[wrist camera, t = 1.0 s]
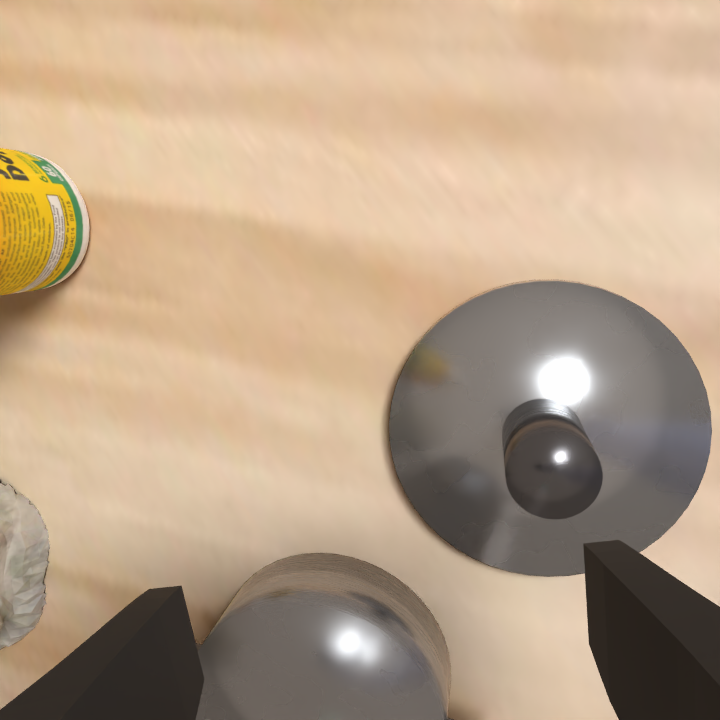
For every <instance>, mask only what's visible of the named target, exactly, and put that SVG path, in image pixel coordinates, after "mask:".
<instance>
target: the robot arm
mask: <svg viewBox="0 0 720 720" xmlns="http://www.w3.org/2000/svg"><path fill="white" fill-rule="evenodd" d="M583 546H584V564H585V581H586V599H587V617H588V634H589V645H590V647H591V650H592V653H593V656H594V659H595V662H596V665H597V667H598V670H599V673H600V676H601V678H602V681H603V684H604V687H605V689H606V692H607V695H608V697H609V700H610V702H611V704H612V706H613V708H614V710H615V713H616V715H617V717H618V719H619V720H720V607H719V606H718V605H716V604H714V603H713V602H711V601H710V600H708V599H707V598H705V597H704V596H702V595H700V594H699V593H697V592H696V591H694V590H693V589H691V588H690V587H688V586H687V585H685V584H684V583H682V582H681V581H679V580H678V579H676V578H675V577H674V576H672V575H671V574H669V573H668V572H666V571H665V570H663V569H662V568H660V567H659V566H657V565H656V564H655V563H653V562H652V561H650V560H649V559H647V558H646V557H644V556H643V555H642V554H640V553H639V552H637V551H636V550H634V549H633V548H631V547H630V546H628V545H627V544H625V543H624V542H622V541H621V540H612V541H602V542H593V543H583ZM204 680H205V679H204V675H203V671H202V667H201V663H200V659H199V655H198V651H197V647H196V643H195V639H194V635H193V631H192V627H191V623H190V619H189V615H188V611H187V607H186V603H185V599H184V595H183V591H182V586H174V587H165V588H155V589H149V590H147V591H146V592H145V593H143V594H142V595H140V596H139V597H138V598H136V599H135V600H134V601H133V602H131V603H130V604H129V605H128V606H127V607H125V608H124V609H123V610H122V611H121V612H119V613H118V614H117V615H116V616H115V617H113V618H112V619H111V620H110V621H109V622H107V623H106V624H105V625H104V626H103V627H102V628H100V629H99V630H98V631H97V632H96V633H95V634H93V635H92V636H91V637H90V638H89V639H87V640H86V641H85V642H84V643H83V644H82V645H80V646H79V647H78V648H77V649H76V650H74V651H73V652H72V653H71V654H70V655H68V656H67V657H66V658H65V659H64V660H62V661H61V662H60V663H59V664H58V665H56V666H55V667H54V668H53V669H52V670H50V671H49V672H48V673H46V674H45V675H44V676H43V677H41V678H40V679H39V680H38V681H36V682H35V683H34V684H32V685H31V686H30V687H29V688H27V689H26V690H25V691H24V692H22V693H21V694H20V695H18V696H17V697H16V698H15V699H13V700H12V701H11V702H10V703H8V704H7V705H6V706H5V707H3V708H2V709H1V710H0V720H196V716H197V712H198V708H199V703H200V698H201V694H202V689H203V684H204Z"/></svg>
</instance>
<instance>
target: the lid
mask: <svg viewBox="0 0 720 720" xmlns="http://www.w3.org/2000/svg"><path fill="white" fill-rule="evenodd" d="M389 434H390V446H391V452H392V458H393V462H394V465H395V469H396V472H397V475H398V478H399V480H400V482H401V484H402V487H403V489H404V491H405V493H406V495H407V496H408V498H409V500H410V501H411V503H412V505H413V506H414V508H415V509H416V511H417V512H418V513H419V514H420V516H421V517H422V518H423V519H424V521H425V522H426V523H427V524H428V525H429V526H430V527H431V528H432V529H433V530H434V531H435V532H436V533H437V534H438V535H439V536H440V537H442V538H443V539H444V540H446V541H447V542H448V543H450V544H451V545H452V546H453V547H455V548H456V549H458V550H460V551H461V552H463V553H465V554H467V555H468V556H470V557H472V558H474V559H476V560H478V561H481V562H483V563H485V564H487V565H490V566H493V567H496V568H499V569H502V570H506V571H509V572H514V573H519V574H525V575H533V576H546V577H550V576H570V575H576V574H583V573H585V564H584V546H583V543H593V542H602V541H612V540H621V541H622V542H624V543H625V544H627V545H628V546H630V547H631V548H633V549H634V550H636V551H637V552H641V551H642V550H644V549H645V548H647V547H648V546H649V545H651V544H652V543H654V542H655V541H656V540H658V539H659V538H660V537H661V536H662V535H663V534H664V533H665V532H666V531H667V530H669V529H670V528H671V527H672V526H673V525H674V524H675V523H676V521H677V520H678V519H679V517H680V516H681V515H682V514H683V512H684V511H685V510H686V509H687V507H688V506H689V504H690V502H691V500H692V499H693V497H694V495H695V494H696V492H697V490H698V488H699V485H700V483H701V480H702V478H703V475H704V473H705V470H706V466H707V462H708V458H709V454H710V445H711V435H712V428H711V411H710V406H709V402H708V397H707V392H706V389H705V386H704V384H703V381H702V378H701V376H700V373H699V371H698V369H697V367H696V365H695V364H694V362H693V360H692V358H691V356H690V355H689V353H688V352H687V350H686V349H685V348H684V346H683V345H682V344H681V342H680V341H679V340H678V339H677V337H676V336H675V335H674V334H673V333H672V332H671V331H670V330H669V329H668V328H667V327H666V326H665V325H664V324H663V323H662V322H661V321H660V320H658V319H657V318H656V317H654V316H653V315H652V314H650V313H649V312H647V311H646V310H645V309H643V308H642V307H640V306H638V305H636V304H635V303H633V302H631V301H629V300H627V299H626V298H624V297H622V296H620V295H618V294H615V293H613V292H610V291H607V290H605V289H602V288H600V287H596V286H592V285H588V284H584V283H580V282H574V281H565V280H530V281H523V282H516V283H511V284H507V285H504V286H500V287H496V288H493V289H490V290H488V291H486V292H483V293H481V294H478V295H476V296H474V297H472V298H470V299H468V300H467V301H465V302H463V303H461V304H460V305H458V306H456V307H455V308H454V309H452V310H451V311H450V312H448V313H447V314H446V315H444V316H443V317H442V318H441V319H440V320H438V321H437V322H436V323H435V324H434V325H433V326H432V327H431V328H430V329H429V330H428V331H427V332H426V334H425V335H424V336H423V338H422V339H421V340H420V342H419V343H418V344H417V345H416V347H415V348H414V350H413V352H412V353H411V355H410V357H409V359H408V360H407V362H406V364H405V366H404V367H403V370H402V372H401V375H400V377H399V379H398V382H397V384H396V388H395V391H394V395H393V399H392V403H391V411H390V420H389Z"/></svg>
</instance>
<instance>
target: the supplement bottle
mask: <svg viewBox="0 0 720 720" xmlns="http://www.w3.org/2000/svg"><path fill="white" fill-rule="evenodd" d="M89 231H90V226H89V217H88V212H87V208H86V205H85V202H84V200H83V197H82V195H81V193H80V191H79V190H78V188H77V187H76V185H75V184H74V182H73V181H72V179H71V178H70V177H69V176H68V175H67V174H66V173H65V171H64V170H63V169H62V168H61V167H59V166H58V165H57V164H55V163H54V162H52V161H50V160H48V159H46V158H44V157H42V156H39V155H35V154H31V153H27V152H22V151H16V150H9V149H3V148H0V295H6V294H13V293H20V292H27V291H35V290H39V289H45V288H49V287H51V286H54V285H56V284H58V283H60V282H61V281H63V280H65V279H66V278H67V277H69V276H70V275H71V274H72V273H73V272H74V271H75V270H76V269H77V268H78V266H79V265H80V263H81V262H82V260H83V257H84V255H85V253H86V250H87V247H88V242H89Z"/></svg>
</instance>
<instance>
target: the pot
mask: <svg viewBox="0 0 720 720" xmlns="http://www.w3.org/2000/svg"><path fill="white" fill-rule="evenodd" d="M196 647H197V651H198V655H199V659H200V663H201V667H202V671H203V675H204V679H205V680H204V684H203V689H202V694H201V698H200V703H199V708H198V712H197V716H196V720H454V719H450V718H448V708H449V695H450V683H451V665H450V658H449V652H448V648H447V645H446V642H445V638H444V636H443V634H442V632H441V629H440V627H439V625H438V623H437V621H436V620H435V618H434V617H433V615H432V613H431V612H430V610H429V609H428V608H427V607H426V605H425V604H424V603H423V602H422V600H421V599H420V598H419V597H418V596H417V595H416V594H415V593H414V592H413V591H412V590H411V589H410V588H409V587H407V586H406V585H405V584H404V583H402V582H401V581H400V580H398V579H397V578H396V577H394V576H392V575H391V574H389V573H387V572H386V571H384V570H383V569H381V568H378V567H376V566H374V565H372V564H370V563H367V562H365V561H361V560H358V559H355V558H352V557H348V556H343V555H338V554H327V553H310V554H301V555H295V556H290V557H287V558H284V559H281V560H278V561H276V562H274V563H272V564H270V565H268V566H266V567H264V568H263V569H261V570H260V571H258V572H257V573H255V574H254V575H253V576H252V577H251V578H250V579H249V580H248V581H246V582H245V583H244V585H243V586H242V587H241V589H240V590H239V591H238V592H237V594H236V595H235V597H234V598H233V600H232V601H231V603H230V604H229V606H228V607H227V609H226V610H225V612H224V613H223V615H222V616H221V617H220V619H219V620H218V622H217V623H216V625H215V626H214V628H213V629H212V631H211V632H210V634H209V635H208V637H207V638H206V640H205V641H204V643H203V644H202V645H201V644H197V643H196Z"/></svg>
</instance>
